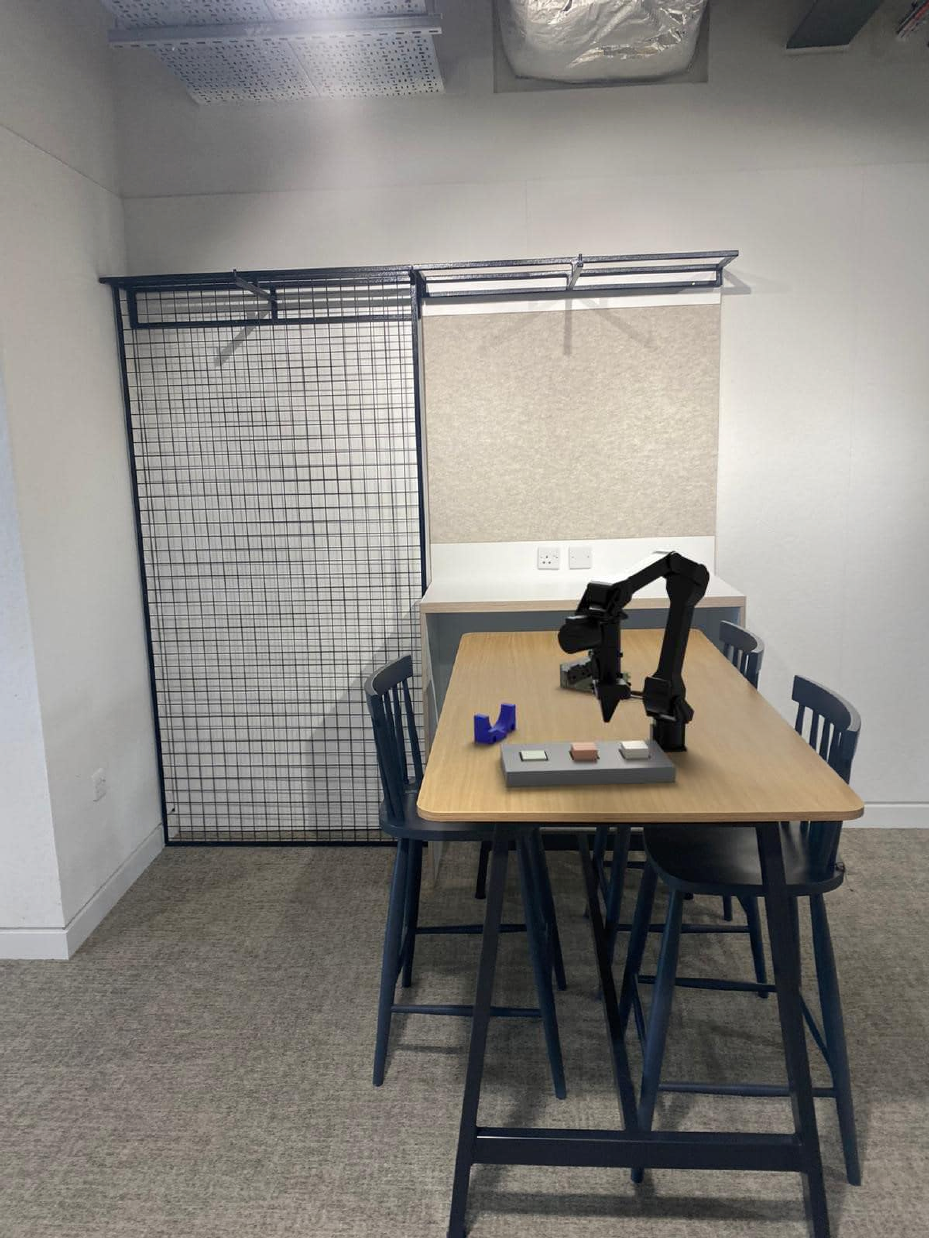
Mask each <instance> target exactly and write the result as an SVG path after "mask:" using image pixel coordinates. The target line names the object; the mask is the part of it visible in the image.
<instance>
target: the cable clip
mask: <svg viewBox="0 0 929 1238" xmlns="http://www.w3.org/2000/svg"><path fill="white" fill-rule="evenodd" d="M516 709H517V707H516V704H514V703H507V702H503V703H501V704H500V710H499V715H498V717H497V720H496V722H495V723H494V724H493V726H492V725H491V721H490V716H489V715H484V714H480V713H477V714H474V715H473V734H474V737H473V740H474V742H477V743H480V744H486V745H494V744H496V743H499V741H502V740H505V739H506V738H507V735H508V734H509V733H511V732H513V731H515V730H516V729H517V723H516V721H517V719H516V718H517V712H516Z"/></svg>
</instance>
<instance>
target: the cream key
mask: <svg viewBox="0 0 929 1238" xmlns="http://www.w3.org/2000/svg"><path fill="white" fill-rule="evenodd" d="M621 741H622V742H621V752H622V754H623V755H624V757H625V759H628V758H649V748H648V747H647V745H646V744H645V743H644V741H629V740H621Z"/></svg>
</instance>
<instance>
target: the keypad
mask: <svg viewBox="0 0 929 1238" xmlns="http://www.w3.org/2000/svg"><path fill="white" fill-rule="evenodd" d="M622 741H623V740H604V741H603V740H599V741H592V742H594V744H595V746H596V748H597V750H598V759H593V760H574V758H573V756H572V754H571V743H586V742H587V741H564V742H563V741H562V742H561V741H560V742H530V743H528V742H527V743H525V742H523V743H500V744H499V745H500V746H499V747H500V749H499V750H500V754H499V755H500V756H499V757H500V762H501V766H502V767H501V768H502V772H503V776H504V777H503V778H504V781H505V786H506V788H513V787H514V788H515V787H517V788H518V787H520V788H521V787H547V786H548V787H549V786H552V787H553V786H554V787H555V786H582V785H583V786H585V785H587V786H588V785H617V784H618V785H619V784H621V785H622V784H650V783H675V782H676V771H677V770H676V765H675V764H674V763H673V762H672V761H671V759H670V758H669V757H668V755H667V754H666V753H665V751H663V750H662V749H661V747H660V746H659V745H658V744H657V742H656V741H655V740H650V739H638V740H637V739H635V740H634V739H631V740H628V741H644V743H645V744H646V745H647V747H648V748H649V758H628V759H625V757H624V755H623V754H622V752H621V742H622ZM521 751H544V753H545V756H546V761H524V762H521Z"/></svg>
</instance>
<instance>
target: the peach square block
mask: <svg viewBox="0 0 929 1238" xmlns="http://www.w3.org/2000/svg"><path fill="white" fill-rule="evenodd" d="M585 742H586V743H571V754H572V756H573V758H574V760H593V759H598V750H597V748H596V746H595V744H594V742H593V741H585Z"/></svg>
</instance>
